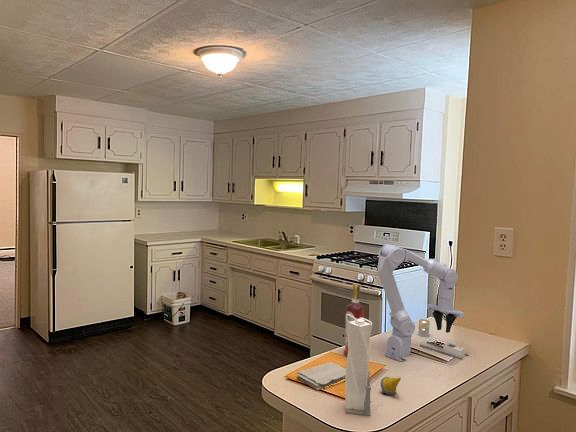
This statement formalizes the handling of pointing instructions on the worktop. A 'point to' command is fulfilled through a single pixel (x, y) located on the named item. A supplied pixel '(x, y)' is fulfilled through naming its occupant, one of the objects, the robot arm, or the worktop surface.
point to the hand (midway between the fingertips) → (443, 330)
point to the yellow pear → (389, 385)
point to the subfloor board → (441, 351)
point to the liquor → (353, 311)
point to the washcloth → (322, 375)
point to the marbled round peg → (423, 328)
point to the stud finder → (454, 350)
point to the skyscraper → (358, 367)
